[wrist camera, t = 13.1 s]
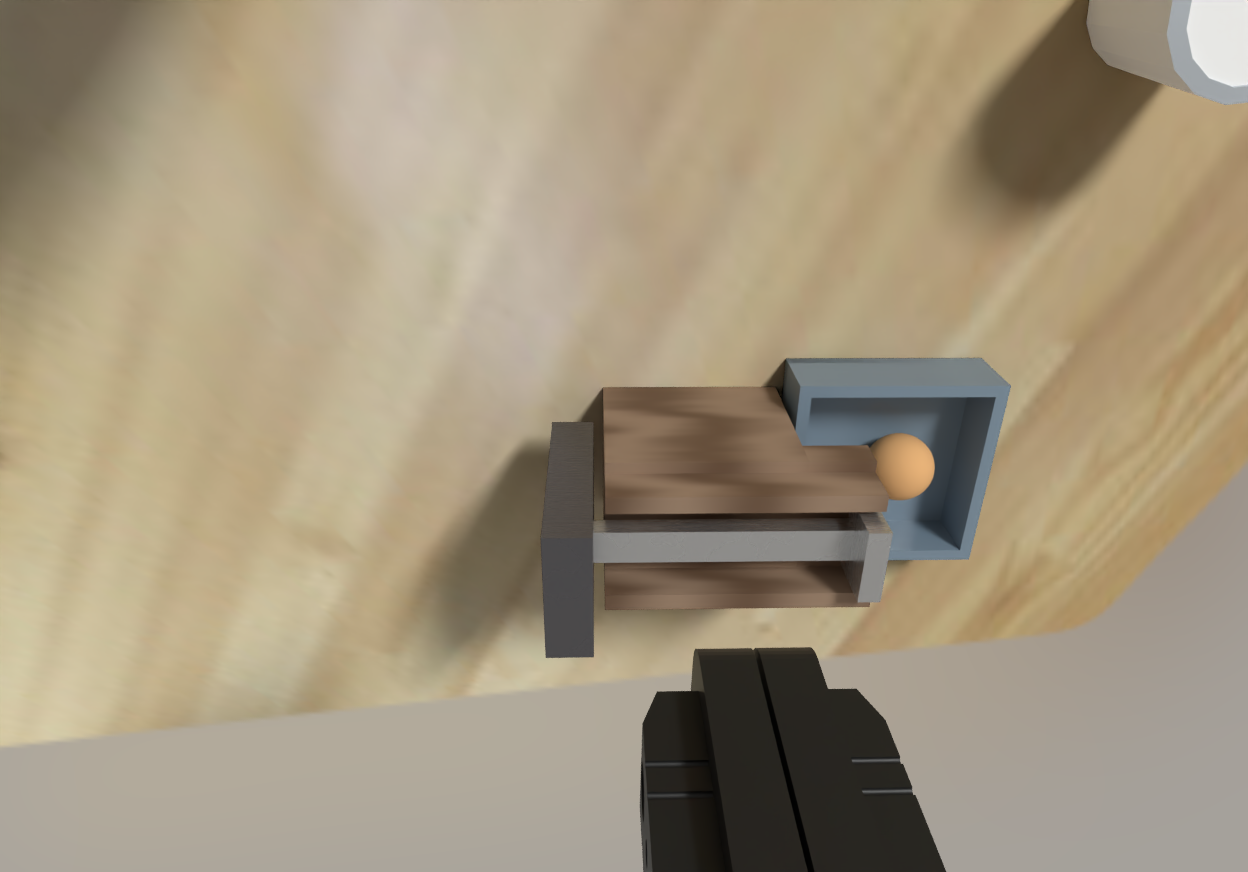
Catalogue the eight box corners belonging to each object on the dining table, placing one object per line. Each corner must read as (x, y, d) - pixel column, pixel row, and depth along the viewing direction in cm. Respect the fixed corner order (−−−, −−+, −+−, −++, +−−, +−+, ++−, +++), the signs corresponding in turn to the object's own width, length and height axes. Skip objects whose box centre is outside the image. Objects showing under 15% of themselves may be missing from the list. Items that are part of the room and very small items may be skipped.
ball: (841, 479, 44) (901, 506, 42) (869, 417, 44) (930, 441, 41) (870, 488, 47) (927, 515, 44) (896, 430, 46) (955, 453, 44)
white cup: (1196, 94, 38) (1313, 113, 32) (1050, 80, 38) (1140, 96, 31) (1263, -83, 35) (1407, -100, 29) (1104, -102, 34) (1216, -123, 28)
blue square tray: (768, 524, 48) (780, 561, 45) (785, 358, 43) (800, 386, 40) (944, 523, 48) (968, 559, 45) (981, 358, 44) (1011, 385, 41)
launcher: (603, 502, 47) (605, 619, 38) (603, 387, 44) (605, 486, 35) (816, 500, 47) (867, 616, 39) (832, 386, 44) (891, 484, 35)
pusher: (555, 524, 44) (545, 657, 35) (552, 422, 41) (540, 538, 33) (830, 522, 45) (889, 653, 36) (845, 420, 42) (913, 535, 33)
